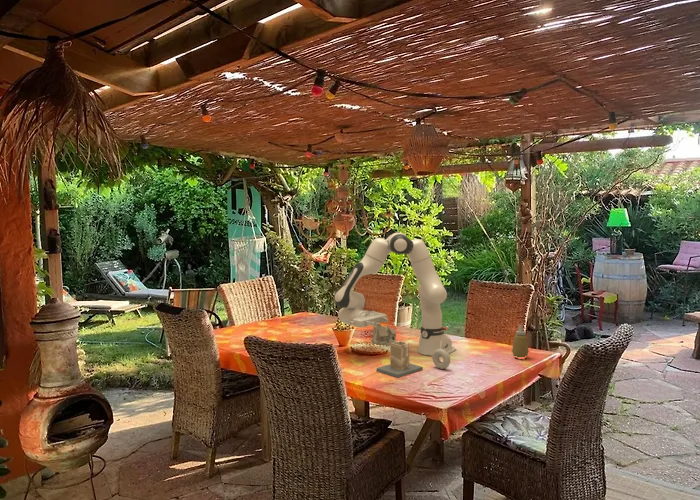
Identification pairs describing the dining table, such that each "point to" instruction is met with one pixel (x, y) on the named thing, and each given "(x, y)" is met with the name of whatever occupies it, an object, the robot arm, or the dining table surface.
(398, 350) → the sleeve
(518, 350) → the squeeze bottle
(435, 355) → the donut
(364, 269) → the robot arm
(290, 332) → the dining table surface
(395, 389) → the dining table surface
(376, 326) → the ceramic cottage
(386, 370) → the post board
